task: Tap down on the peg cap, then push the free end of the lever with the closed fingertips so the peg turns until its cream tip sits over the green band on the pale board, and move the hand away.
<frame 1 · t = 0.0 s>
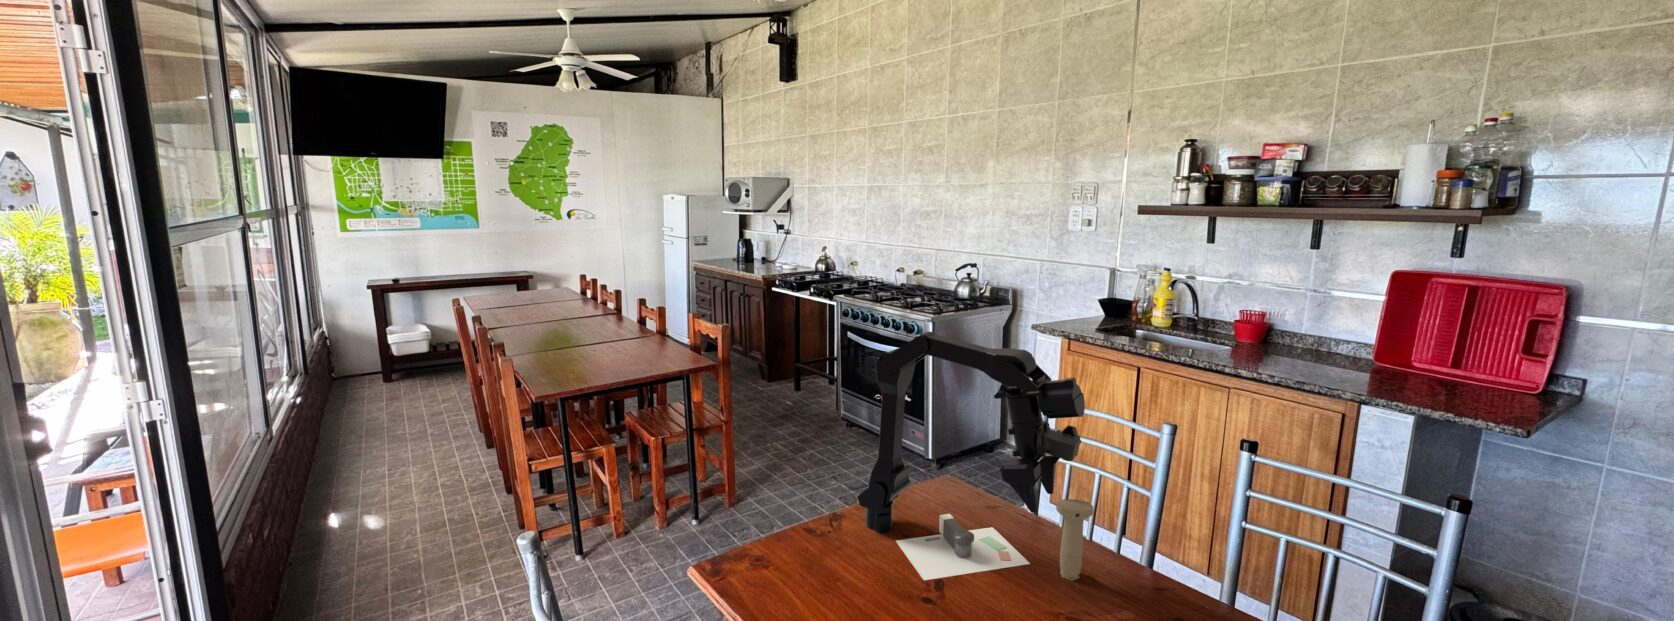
hand: (1042, 502, 126), 15 cm above the table, tool pointing down, fingers open, 9 cm apart
peg: (955, 535, 139), point 3 cm above the table, hinge at 0.0°
board: (960, 556, 137), on the table
handle: (1069, 581, 129), on the table
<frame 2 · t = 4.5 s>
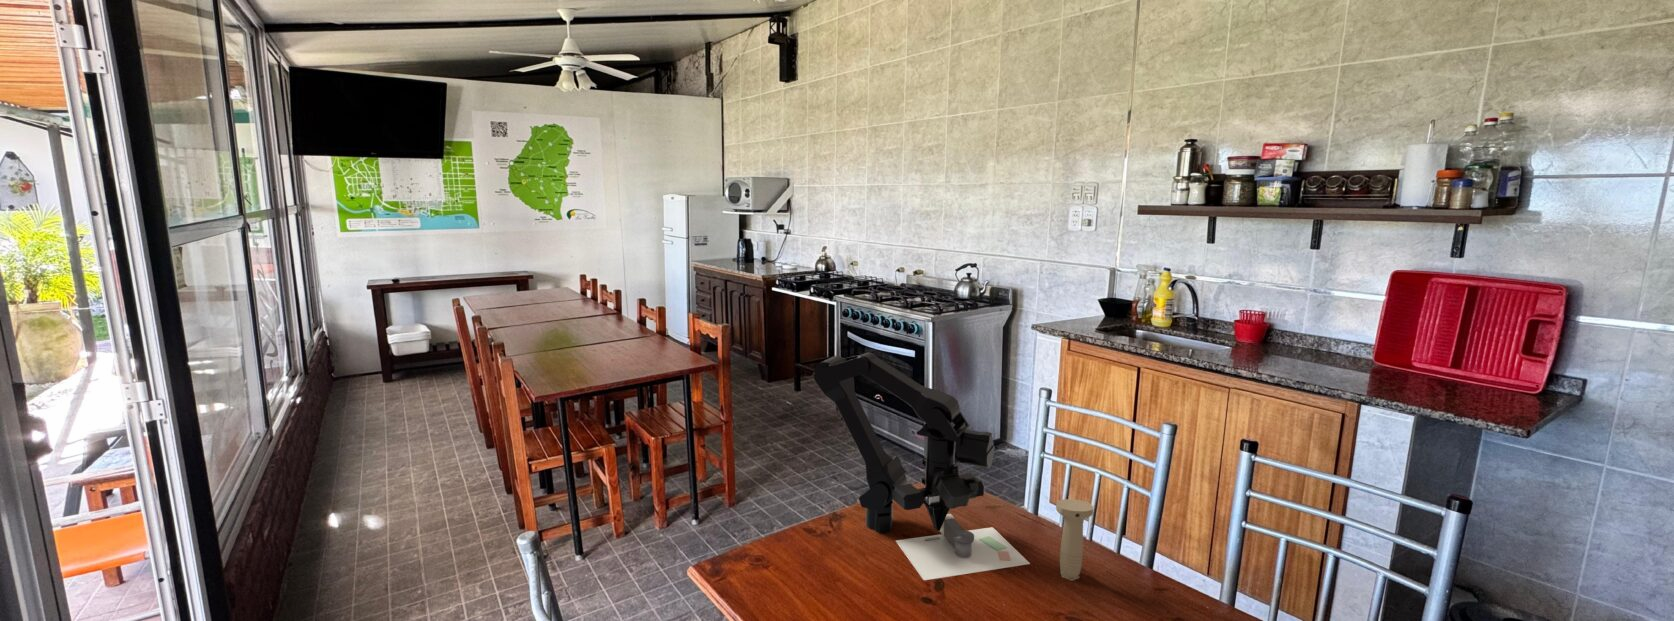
hand: (937, 529, 142), 3 cm above the table, tool pointing down, fingers closed
peg: (956, 535, 139), point 3 cm above the table, hinge at -1.1°, touching gripper
everything else where it was.
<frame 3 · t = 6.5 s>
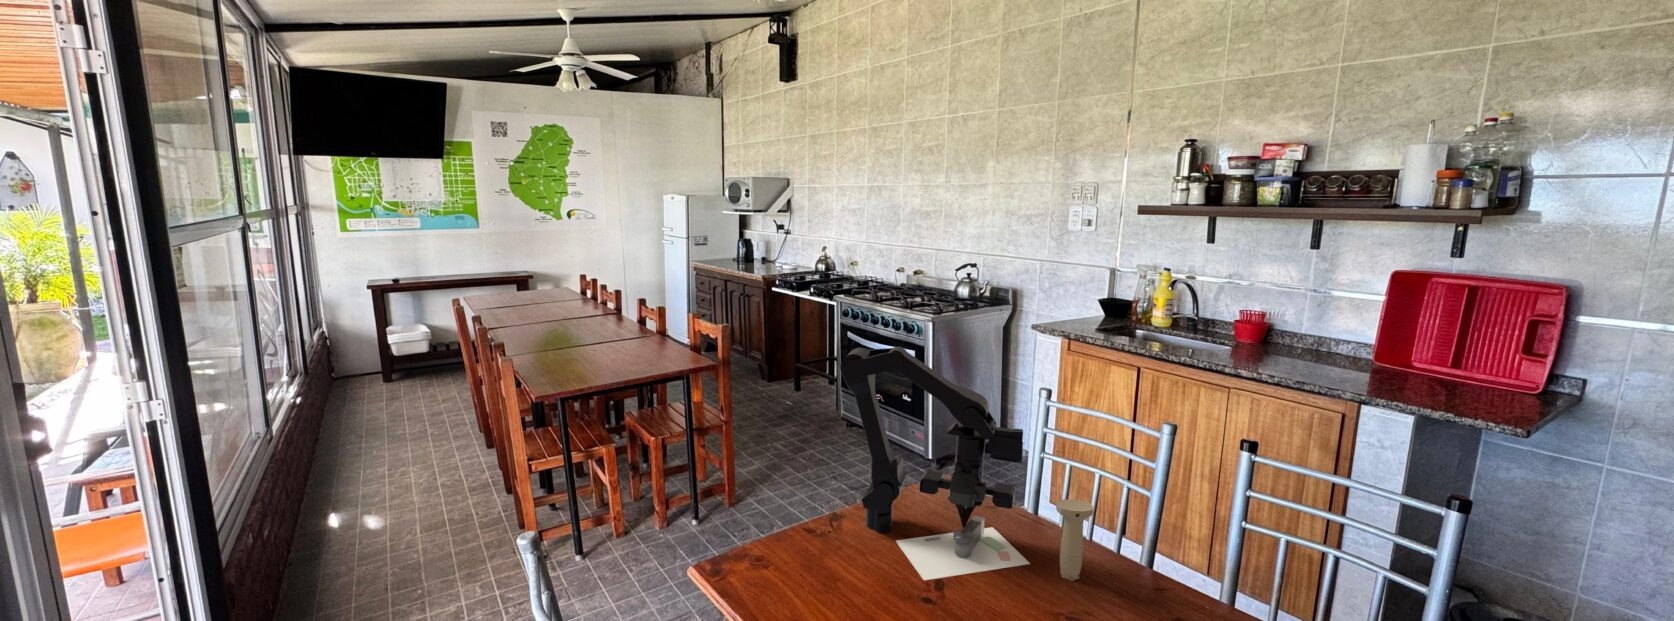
hand: (964, 527, 143), 3 cm above the table, tool pointing down, fingers closed
peg: (969, 536, 138), point 3 cm above the table, hinge at -46.4°, touching gripper
everything else where it was.
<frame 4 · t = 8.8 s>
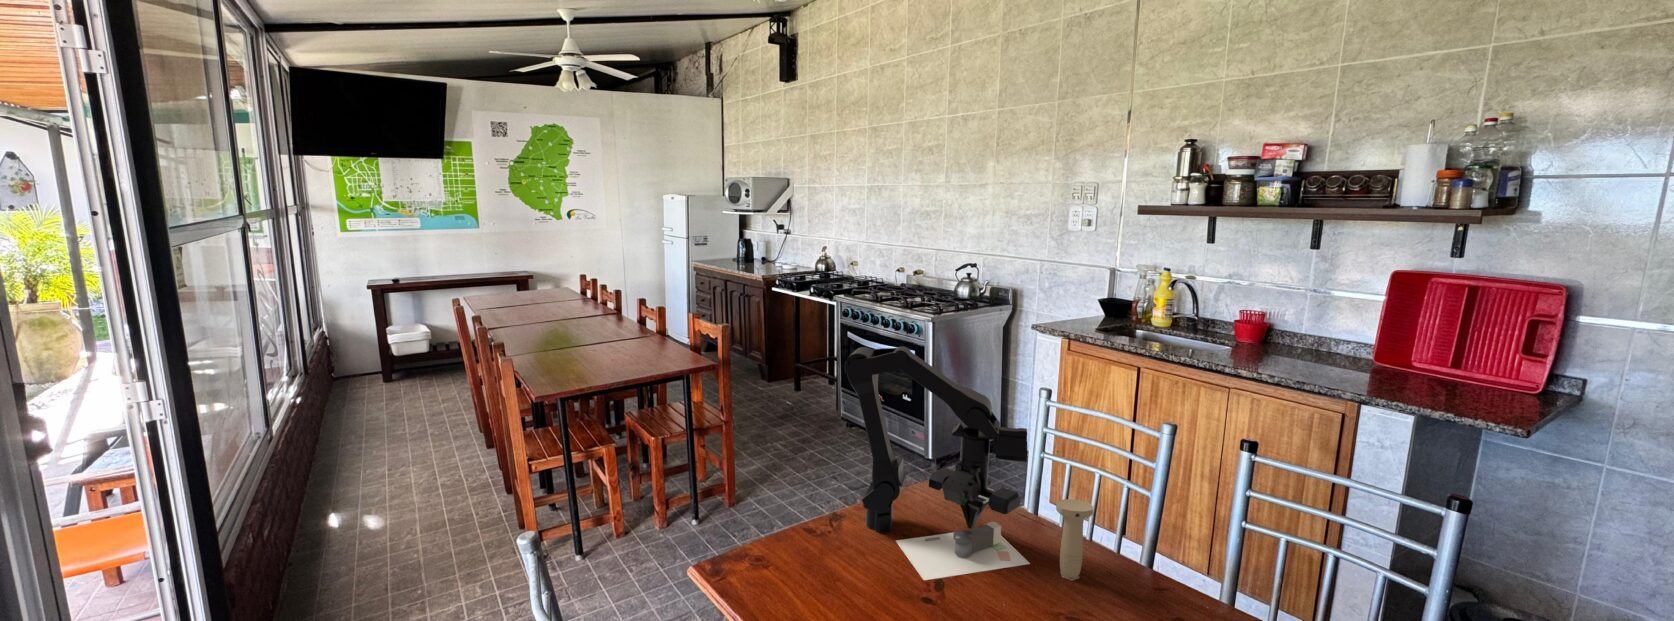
hand: (970, 528, 143), 3 cm above the table, tool pointing down, fingers closed
peg: (976, 539, 137), point 3 cm above the table, hinge at -73.6°
everything else where it was.
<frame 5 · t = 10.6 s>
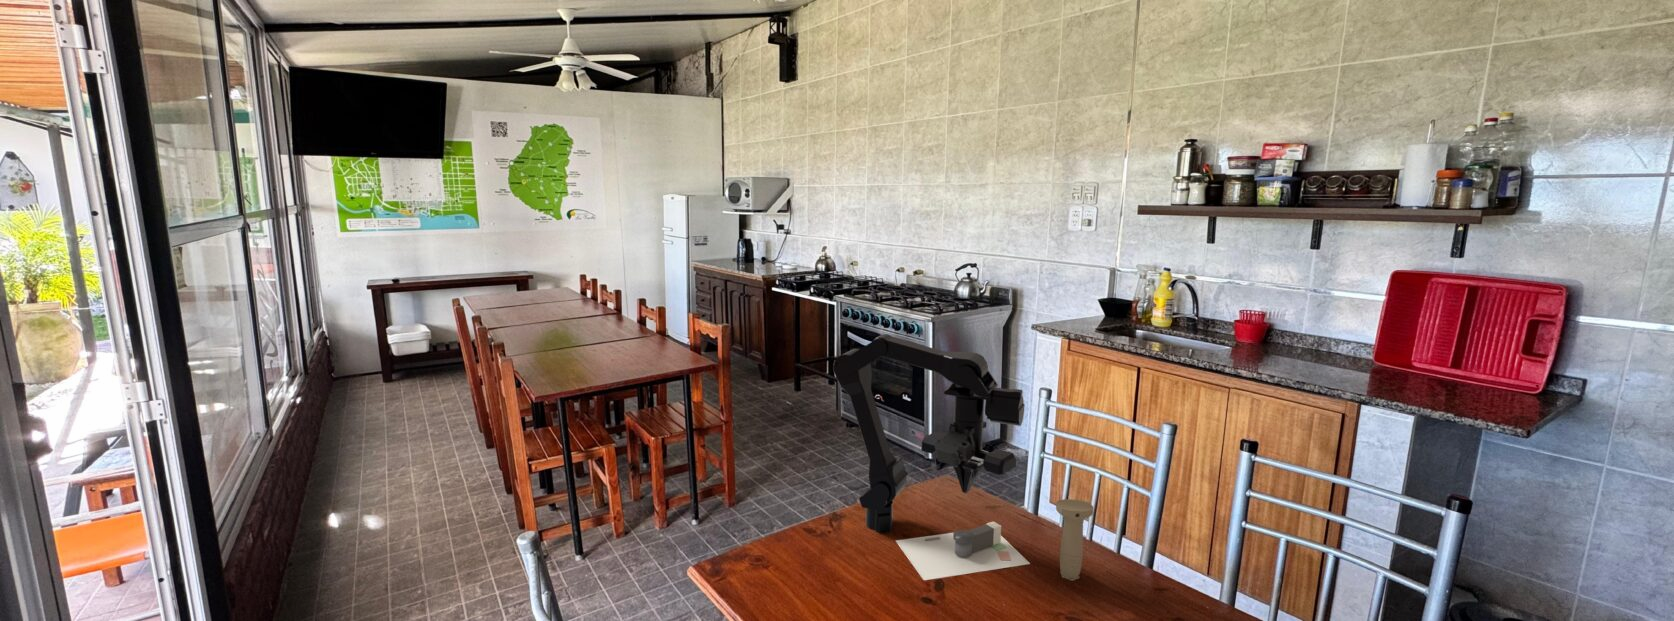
hand: (965, 492, 138), 12 cm above the table, tool pointing down, fingers closed
nothing on the table moved.
at the end: peg at -74° (first picture: +0°) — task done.
